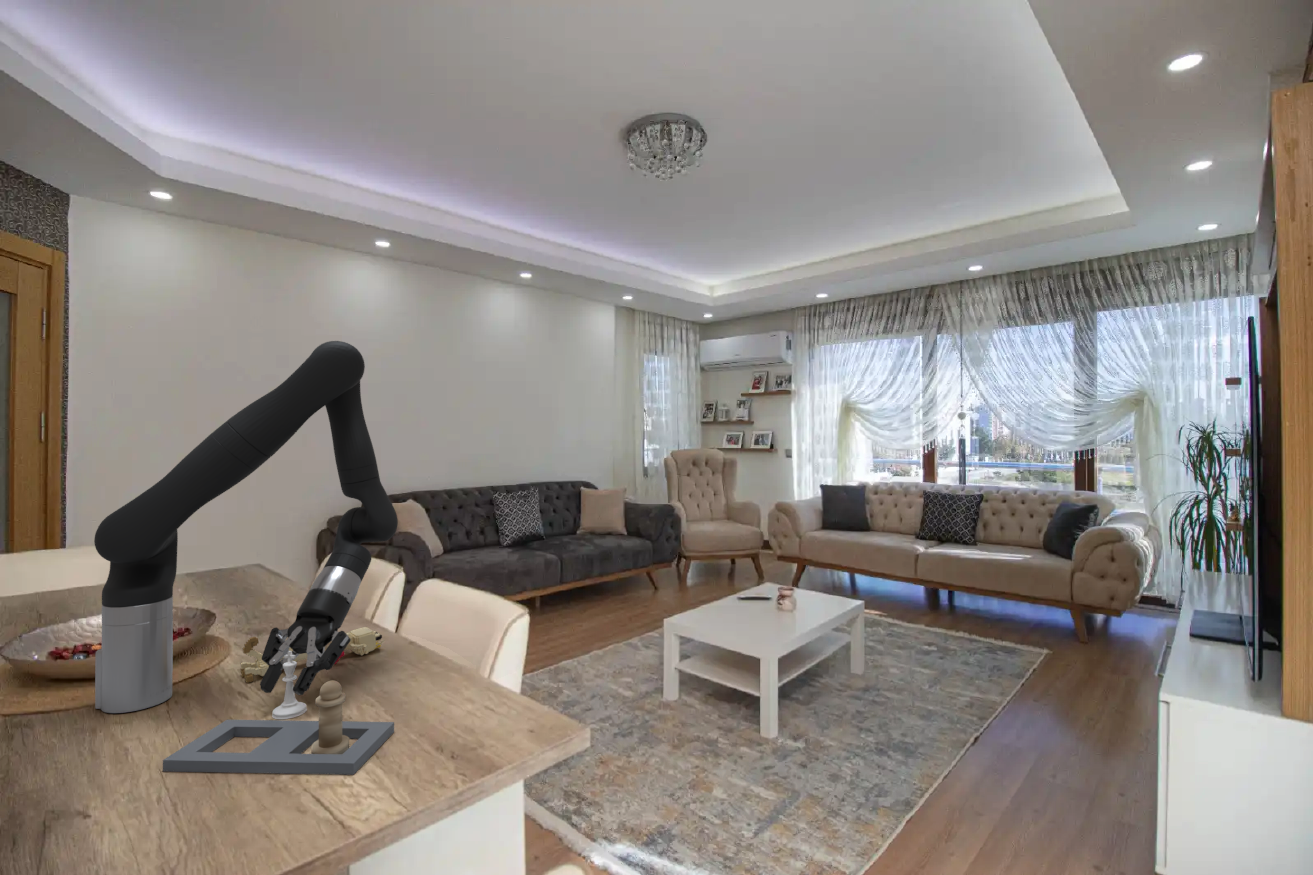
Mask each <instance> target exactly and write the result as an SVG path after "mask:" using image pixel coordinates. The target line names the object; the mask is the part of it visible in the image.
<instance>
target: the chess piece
mask: <svg viewBox="0 0 1313 875" xmlns="http://www.w3.org/2000/svg"><path fill="white" fill-rule="evenodd" d="M284 658H288V662H286V663H284V664H283V668H284V669H283V671H284V673H285V676H283V677H282V679H281V681H282V682H286V684H285V691H284V698H283V702H281V704H280V705H278V706H276V707H275V708H273V710H272V712H271V713H272V715H271V718H272V719H273V720H274V719H275V720H289V719H293V718H297V717H299V716H302V715H304V714H305V713H306V712H307V711H308V708H307V704H306V703H305V702H302V701H298V700H297V699H296V693H295V692H294V691H293V687H294V685H295V684H294V681H295V680H297V679H298V675H296V674H294V673H295V671H296V667H297V665H298V662H295V661H292V659H294V658H295V655H292V651H288V655H287V654H286V655H284Z"/></svg>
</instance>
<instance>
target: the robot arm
mask: <svg viewBox="0 0 1313 875" xmlns="http://www.w3.org/2000/svg"><path fill="white" fill-rule="evenodd" d="M365 366H366V365H365V360H364V357H363V355H362V353H361V352H360V350H358V348H356V347H355V346H354V345H352V344H351V343H348V342H345V341H342V340H341V341H339V340H329V341H326V342H323V343H321V344H319V345H318V346H317V347H316V348H314V350H313V351H312V352H311V354H310V355H309V356H308V357H307V358H306V359H305V361H303V363H302V364H301V365H300V366H298V368H297V369H296V370H294V372H293V373H292V374H290V375H289V376H288V377H287V378H286V379H285V380H284V381H283V382H281V384H279V385H278V386H276V388H274V389H272V390H271V391H270V392H269V391H268V392H267V393H266V394H264V395H263V396H261V397H259V398H257V399H255V401H253V402H251V403H250V404H248V405H246V406H245V407H243V408H242V409H240V411H238V412H236V413H235V414H233V416H231V417H230V418H228V419H227V420H226V421H225V422H224V423H222V424H221V425H220V426H219V427H218V428H216V429H215V430H213V432H211V433H210V434H209V435H208V436H207V437H206V438H205V439H203V440H202V441H200V443H199V444H198V445H197V446H195V447H194V448H193V449H192V450H191V451H190V452H189V453H188V454H187V455H185V456H184V458H182V459H181V460H180V461H179V462H178V463H177V464H176V465H175V466H174V467H173V468H172V469H171V470H170V471H169V472H168V473H167V474H166V475H165V476H164V477H163V478H161V479H160V480H158V481H157V482H156V483H154V484H153V485H152V486H151V487H149V488H148V489H146V490H145V491H144V492H142V493H140V494H139V495H138V496H136V497H135V498H133V499H132V500H130V501H129V502H127V503H126V504H124V505H122V506H121V507H119V508H118V509H116V510H115V511H113V512H112V513H110V514H108V515H107V516H106V517H105V518H104V519H103V520H102V521H101V522H100V524H99V525H98V526H97V529H96V531H95V533H94V548H95V550H96V552H97V553H98V555H99V556H100V557H102V559H104V560H106V561H108V562H110V563H109V570H108V571H109V572H108V577H107V579H106V582H105V584H104V585H103V588H102V590H101V648H100V649H98V650H97V651H95V658H94V659H95V666H94V667H95V669H94V671H95V673H94V678H95V680H94V681H95V685H94V690H95V691H94V694H95V695H94V696H95V700H94V701H95V702H94V705H95V706H94V708H95V709H99V710H101V711H102V712H103V713H108V714H123V713H130V712H135V711H136V712H137V711H140V710H145V709H147V708H152V707H155V706H157V705H160V704H161V703H164V702H166V701H168V700H169V699H171V698H172V696H173V667H174V666H173V663H174V662H173V658H174V657H173V655H174V654H173V649H174V648H173V646H174V645H173V641H174V637H173V630H174V627H173V626H174V623H173V621H174V618H173V616H174V610H173V609H174V603H173V602H174V601H173V600H174V596H173V595H174V583H175V580H176V577H177V570H178V569H177V568H178V566H177V565H178V539H179V538H178V534H179V533H178V529H179V528H180V527H181V526H182V525H183V524H184V523H185V522H186V521H187V520H188V519H190V517H192V516H193V515H194V514H195V513H196V512H197V511H198V510H200V509H201V508H202V507H204V506H205V505H206V504H208V503H209V502H210V501H213V500H215V499H216V498H217V497H219V496H220V495H222V494H224V493H225V492H227V491H228V490H230V489H231V488H233V487H234V486H236V485H237V484H239V483H240V482H242V481H243V480H244V479H246V478H248V476H250V475H251V474H252V473H253V472H255V471H256V470H258V469H259V468H260V467H261V466H262V465H263V464H265V462H267V461H268V460H269V459H270V458H272V457H273V456H274V455H275V454H276V453H277V452H278V451H279V450H280V449H281V448H282V447H283V446H284V445H285V444H286V443H288V441H289V440H290V439H291V438H292V437H293V436H294V435H295V434H296V433H297V432H298V431H299V430H300V429H301V428H302V426H303V425H304V424H305V423H306V422H307V421H308V420H310V419H311V417H312V416H313V415H315V414H316V413H317V412H318V411H319V410H321V409H322V408H324V407H325V409H326V413H327V416H328V421H329V427H330V432H331V439H332V446H333V454H334V460H335V465H336V469H337V470H336V471H337V473H338V478H339V484H340V488H341V491H342V494H343V495H344V496H345V497H347V498H350V499H355V500H358V501H359V502H361V504H362V505H363V506H357V507H352V508H350V509H348V510H347V511H346V512H345V513H343V515H342V516H341V518H340V520H338V521H339V522H338V524H337V529H336V533H335V538H334V542H333V548H332V551H331V554H330V556H329V557H328V559H327V561H326V563H325V564H324V566H323V568H322V570H321V571H320V573H319V574H318V575H317V576H316V578H314V581H313V583H312V585H311V587H310V588H309V590H308V592H307V594H306V596H305V597H304V599H303V601H302V603H301V604H300V606H299V608H298V610H297V612H296V616H295V620H294V622H293V623H292V624H291V625H289V627H288V628H285V629H279V628H278V627H273V628H272V629H271V630H270V632H269V635H268V638H267V641H266V643H265V648H264V650H263V653H262V654H263V655H262V660H263V661H264V662H265V663H266V664H268V665H269V667H268V669H267V671H266V673H265V675H264V676H262V678H261V680H260V684H259V685H260V690H261V691H263V692H264V694H265V693H266V694H271V693H272V692H273V690H274V688H275V687H276V684H277V683H278V681H279V679H280V677H281V675H282V673H283V671H284V668H283V664H284V663H286V662H288V658H283V657H284V655H286V654H287V655H288V651H289V648H291V649H292V650H293V651H292V655H295V658H296V657H297V656H298V655H299V654H303V653H307V655H308V656H307V659H306V665H305V666H306V667H303V668H302V669H301V672H300V674H299V676H297V679H296V682H295V684H293V685H294V687H293V691H294V693H295V695H298V696H303V695H304V694H305V693H306V692H308V691H309V689H310V687H311V685H312V683H313V681H314V678H315V677H316V676H317V674H318V673H319V672H321V671H323V670H325V671H329V670H331V669H332V668H333V667H334V665H336V664H335V662H336V661H337V659H338V658H339V656H340V655H341V654H342V652H343V651H344V649H345V648H346V647H347V645H348V644H349V642H350V640H351V639H350V638H349V636H348V635H347V634H346V633H347V632H345V631H344V630H340V631H339V629H340V628H341V627H342V625H343V624H344V621H345V619H346V617H347V615H348V613H349V611H350V608H351V607H352V605H353V603H354V601H355V599H356V596H357V595H358V592H359V590H360V586H361V584H362V581H363V579H364V577H365V575H366V573H367V571H368V569H369V567H370V565H371V562H372V553H371V552H370V551H369V549H367V547H365V546H363V545H361V544H362V543H377V542H387V541H389V540H390V539H392V538H393V537H394V536H395V534H396V533H397V529H398V525H399V524H398V522H399V520H398V515H397V511H396V510H395V507H394V505H393V503H392V502H391V499H390V497H389V495H388V493H387V491H386V490H385V488H384V486H383V484H382V481H381V478H380V477H381V476H380V473H379V467H378V463H377V458H376V454H375V450H374V446H373V443H372V439H371V436H370V433H369V430H368V426H367V424H366V419H365V414H364V411H363V404H362V396H361V394H362V393H361V380H362V378H363V376H364V374H365V369H366V367H365ZM331 641H332V642H331ZM330 642H331V643H330ZM328 643H330V645H329V646H328V648H327V649H326V650H325V646H326V645H327V644H328ZM344 652H345V651H344ZM282 658H283V659H282ZM295 658H294V659H295ZM281 659H282V660H281ZM294 659H292V660H294ZM339 659H340V658H339ZM339 659H338V660H339ZM280 660H281V661H280Z"/></svg>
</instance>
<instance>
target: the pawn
mask: <svg viewBox="0 0 1313 875" xmlns="http://www.w3.org/2000/svg"><path fill="white" fill-rule="evenodd" d="M342 687H343V686H342V685H341V683H340V682H338V681H336V680H328V681H326V682H324V684H322V685H321V687H320V690H319V695H318V696H317V697H316V698H315V706H316V707H318V721H319V739H318V740H317V741H315V742H314V743H313V744H312V745H311V746H310V747H311V753H310V754H343V753H344V752H345V751H347V750H348V749H349V748H350V738H349V737H348V736H345V735H342V721H343V703H344V702H345V701H346V692H344V691H343V692H342V690H343V689H342Z"/></svg>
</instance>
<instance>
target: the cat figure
mask: <svg viewBox="0 0 1313 875" xmlns="http://www.w3.org/2000/svg"><path fill="white" fill-rule="evenodd" d="M345 633H346V634H347V635H348V636H349V638H350V639H351V640H350V642H349V644H348V645H347V647H346V648H345V649H344V651H343V652H342V654H341V655H340V656H339V658H338V659H337V661H336V662H335V664H334V665H336V664H337V663H338V662H340V659H341V658H342V657H344V656H345V651H349V650H351V651H352V652H353V653H354V654H356V655H360V656H363V655H368V654H369V652H370V653H371V652H373V651H374V650H375V649H378V648H381V647H382V644H383V643H385V640H384V639H383V640H382V638H383V635H382V634H380V633H379V632H377V631H376V630H372V629H370V628H369V627H367V626H363V627H360V628H357V629H353V630H350V631H349V632H345ZM379 641H380V642H379ZM331 642H332V641H331ZM331 642H330V643H331ZM259 643H260V642H259V638H258V637H256V636H253V637H252V636H251V637H249V639H247V641H246V642H245V643H244V647H242V653H243V654H244V655H247V656H248V657H250V658H252V657H253V658H255V661H253V662H251V661H248V662H247V661H243V662H241V663H240V675H241V677H242V678H244V680H245V683H246V684H248V683H252V682H253V681H254V676H256V675H259V676H261V677H264V675H265V673H266V671H267V669H268V667H269V665H268V664H266V663H265V662H264V661H263V660H262V655H263V653H261V652H260V651H257V650H256V649H254V647H256V646H257V647H258V644H259ZM330 643H328V644H327V645H326V646H325V650H326V649H327V648H328V646H329V645H330ZM289 651H293V650H292V649H291V648H289ZM307 656H308V655H307V653H303V654H299V655H298V656H297V657H296V658H295V659H294V660H292V661H295V662H297V663H298V662H300V661H305V660H307ZM283 658H284V657H283ZM283 658H282V659H283ZM282 659H281V660H282ZM281 660H280V661H281Z"/></svg>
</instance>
